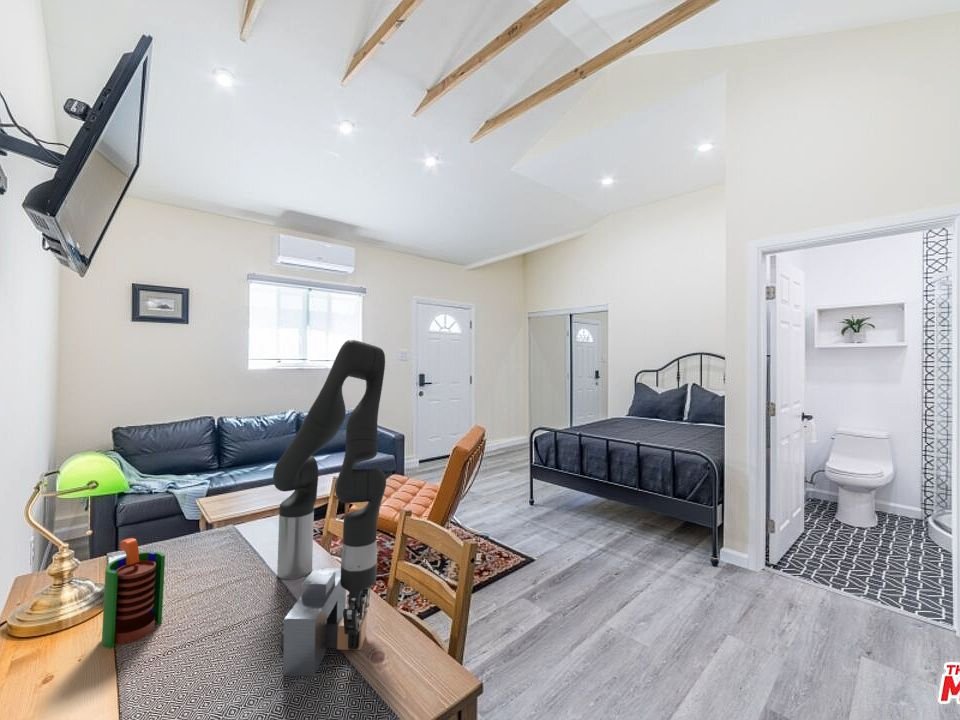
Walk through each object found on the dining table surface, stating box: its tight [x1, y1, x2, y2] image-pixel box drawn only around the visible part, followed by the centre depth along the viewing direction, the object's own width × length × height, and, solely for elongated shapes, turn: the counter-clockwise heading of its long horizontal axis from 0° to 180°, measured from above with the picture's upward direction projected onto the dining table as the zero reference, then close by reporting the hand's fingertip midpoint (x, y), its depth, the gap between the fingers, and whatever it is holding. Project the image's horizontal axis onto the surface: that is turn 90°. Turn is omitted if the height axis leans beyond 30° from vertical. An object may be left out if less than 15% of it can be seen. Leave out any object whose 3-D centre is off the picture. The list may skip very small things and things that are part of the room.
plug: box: [280, 613, 368, 651], centre depth 90 cm, size 17×4×5 cm, turn 92°
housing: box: [282, 567, 347, 677], centre depth 90 cm, size 6×20×14 cm, turn 1°
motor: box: [101, 537, 166, 649], centre depth 92 cm, size 10×9×20 cm
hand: (356, 639), depth 90 cm, fingers closed on plug, 4 cm apart
